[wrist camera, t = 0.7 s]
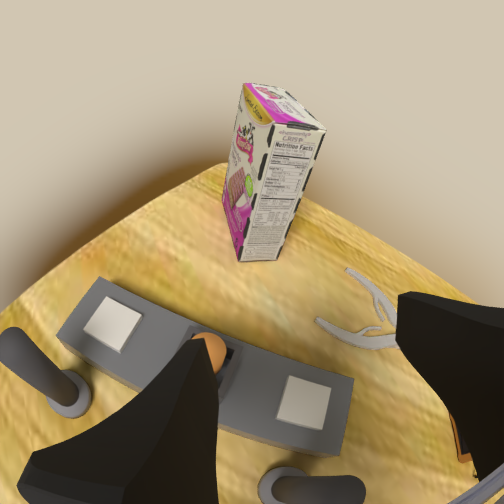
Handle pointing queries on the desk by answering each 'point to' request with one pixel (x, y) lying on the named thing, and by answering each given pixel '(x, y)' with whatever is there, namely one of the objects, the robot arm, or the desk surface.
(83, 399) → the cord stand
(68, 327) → the power strip
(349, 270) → the pliers
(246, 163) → the candy bar box
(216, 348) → the breaker button
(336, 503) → the cord stand
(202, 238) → the desk surface
